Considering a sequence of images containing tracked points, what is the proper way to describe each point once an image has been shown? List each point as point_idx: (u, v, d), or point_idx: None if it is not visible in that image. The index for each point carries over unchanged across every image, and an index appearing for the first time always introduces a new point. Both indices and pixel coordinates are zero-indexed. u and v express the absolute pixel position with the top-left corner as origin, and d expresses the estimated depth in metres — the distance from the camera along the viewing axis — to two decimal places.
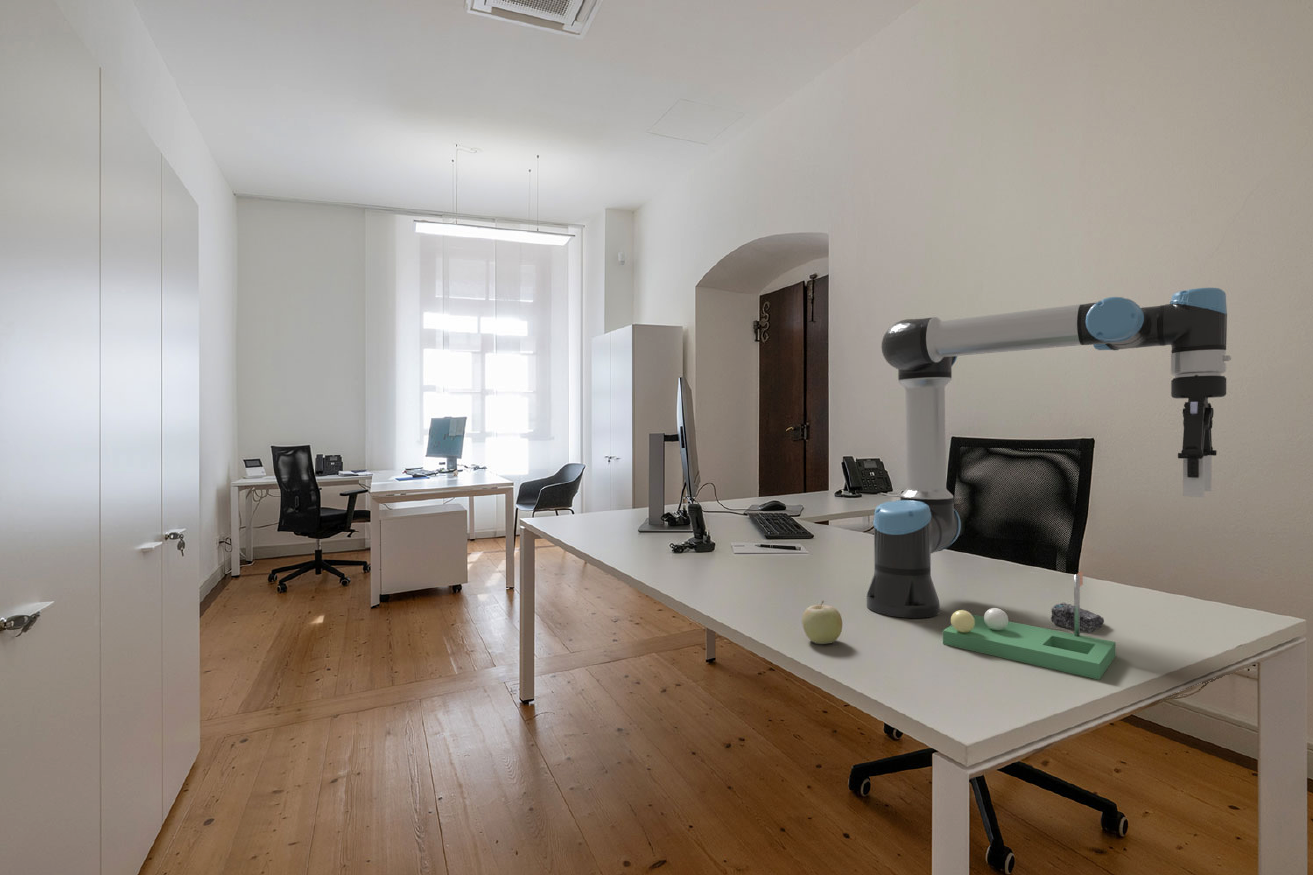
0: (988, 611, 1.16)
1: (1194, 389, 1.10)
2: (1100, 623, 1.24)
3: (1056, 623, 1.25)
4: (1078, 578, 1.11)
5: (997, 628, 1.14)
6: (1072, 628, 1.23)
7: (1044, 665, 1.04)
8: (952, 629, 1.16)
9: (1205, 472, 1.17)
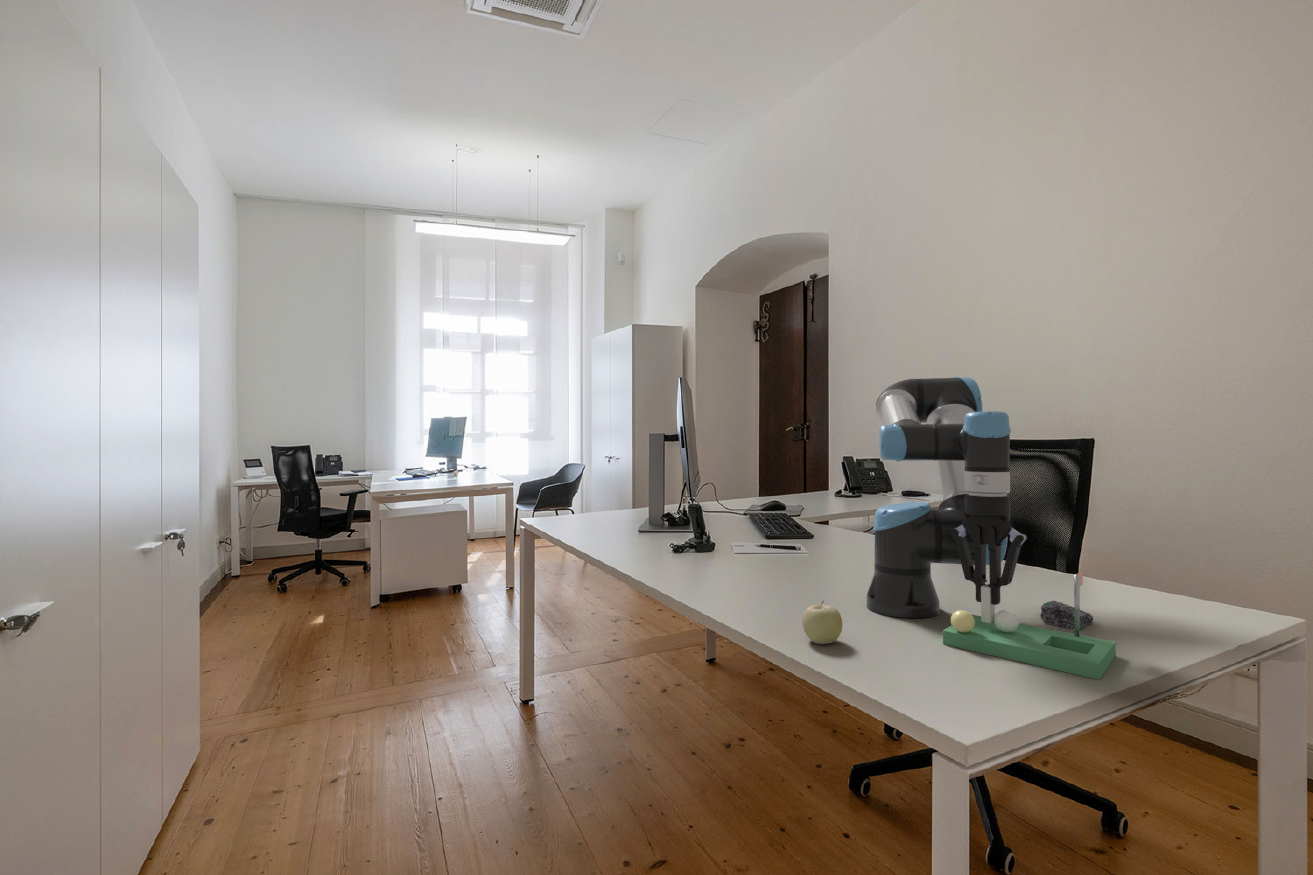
0: (1006, 613, 1.13)
1: None
2: (1089, 621, 1.25)
3: (1045, 620, 1.27)
4: (1078, 578, 1.11)
5: (1000, 629, 1.14)
6: (1061, 625, 1.24)
7: (1044, 665, 1.04)
8: (952, 629, 1.16)
9: None
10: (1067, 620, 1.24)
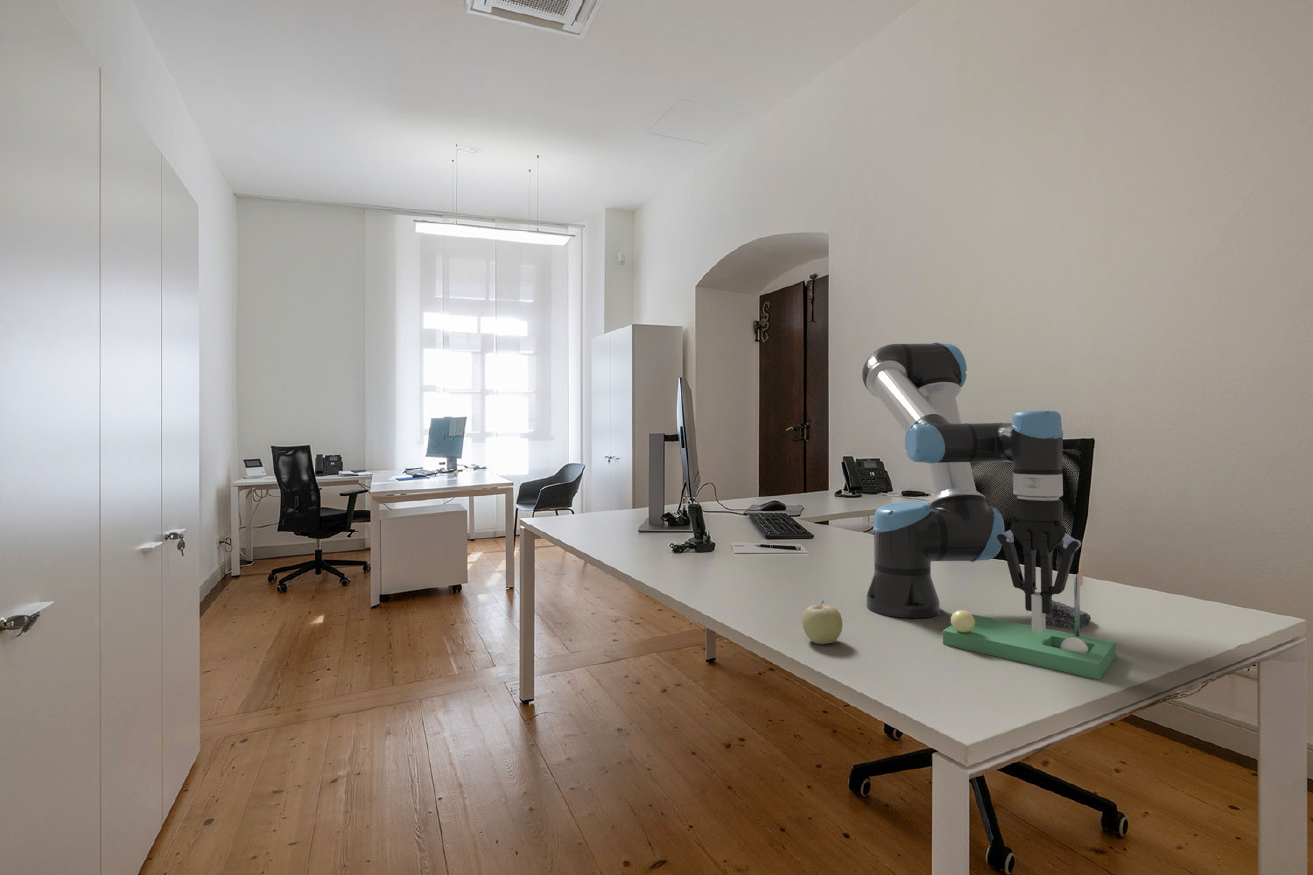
0: (1071, 640, 1.06)
1: None
2: (1087, 620, 1.25)
3: None
4: (1078, 578, 1.11)
5: None
6: (1058, 625, 1.25)
7: (1044, 665, 1.04)
8: (952, 629, 1.16)
9: None
10: (1064, 620, 1.24)
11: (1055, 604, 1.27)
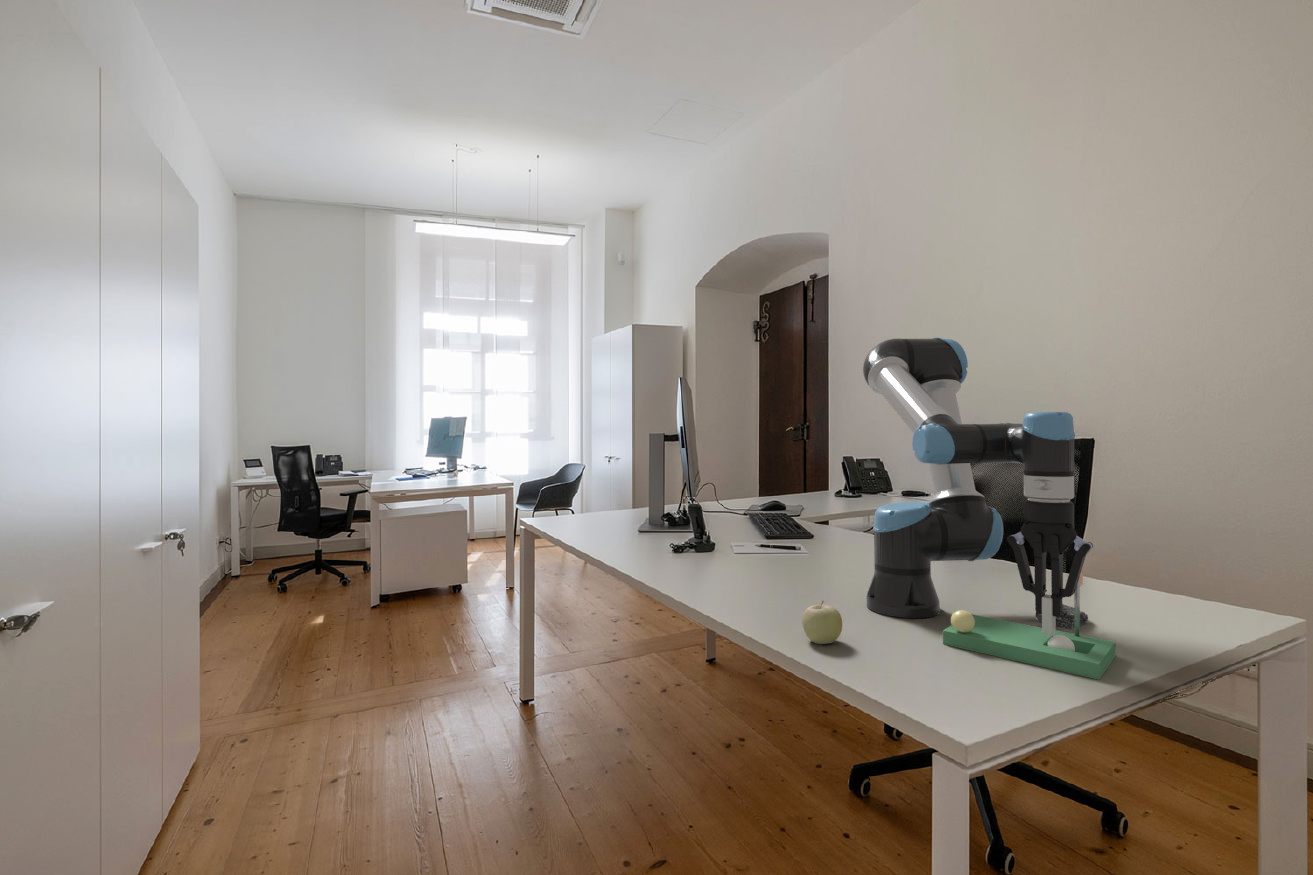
0: (1049, 642, 1.08)
1: None
2: (1084, 620, 1.26)
3: (1040, 619, 1.28)
4: None
5: None
6: None
7: (1044, 665, 1.04)
8: (952, 629, 1.16)
9: None
10: (1061, 619, 1.25)
11: None
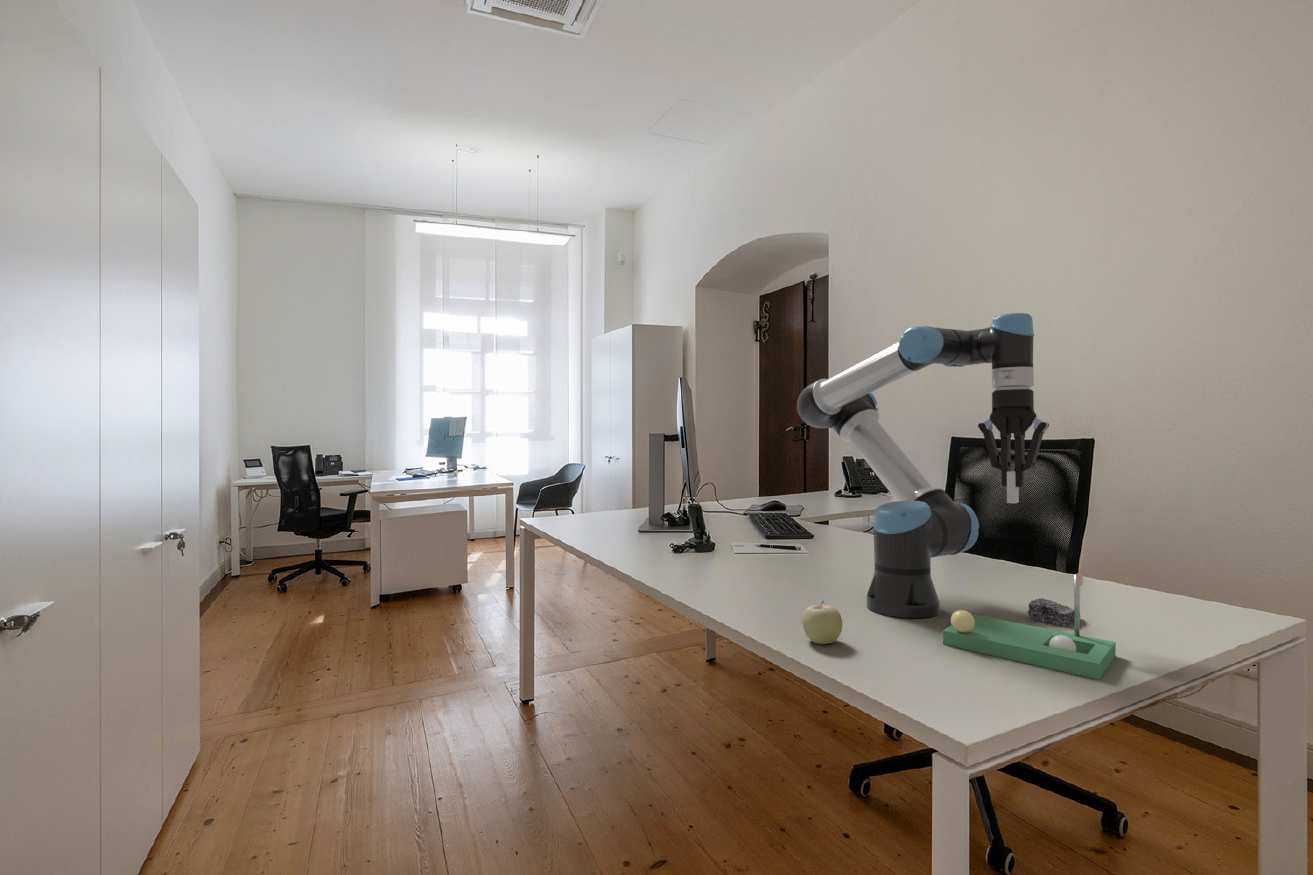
0: (1051, 641, 1.08)
1: None
2: None
3: (1033, 617, 1.29)
4: (1078, 578, 1.11)
5: None
6: (1047, 622, 1.26)
7: (1044, 665, 1.04)
8: (952, 629, 1.16)
9: None
10: (1053, 617, 1.26)
11: (1045, 602, 1.29)
